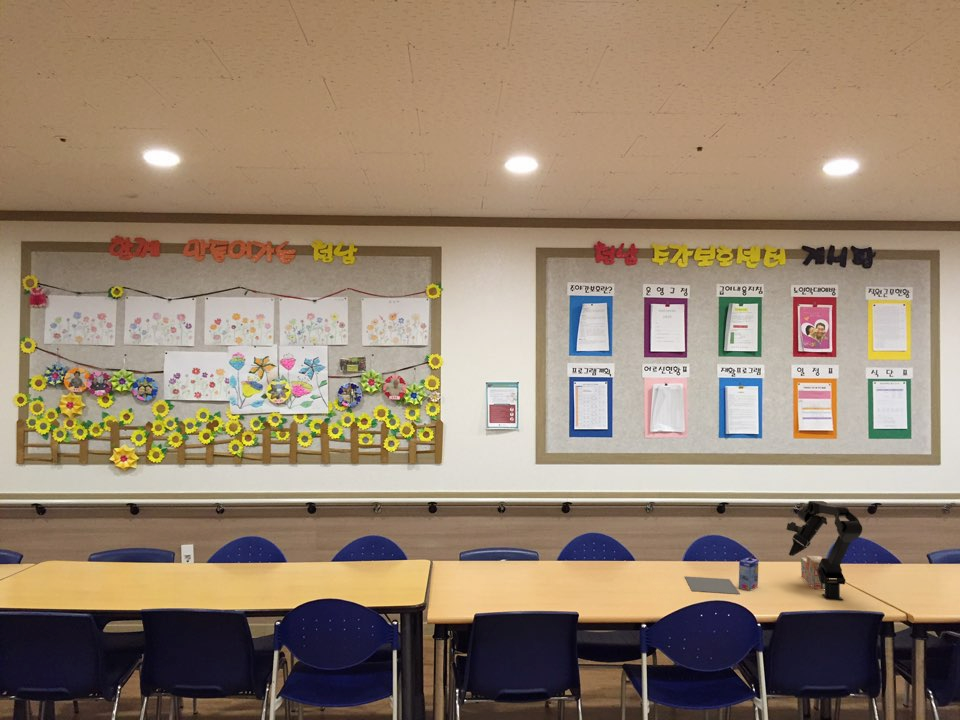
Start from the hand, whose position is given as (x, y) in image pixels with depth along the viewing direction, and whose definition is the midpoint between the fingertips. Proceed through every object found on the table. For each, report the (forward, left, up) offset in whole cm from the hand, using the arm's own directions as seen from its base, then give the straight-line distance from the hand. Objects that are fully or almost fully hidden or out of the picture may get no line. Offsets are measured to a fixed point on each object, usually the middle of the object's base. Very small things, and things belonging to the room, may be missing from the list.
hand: (790, 555), depth 299 cm
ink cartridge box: (-5, +19, -15) cm, 24 cm away
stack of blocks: (+10, -13, -15) cm, 22 cm away
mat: (-5, +35, -14) cm, 38 cm away
